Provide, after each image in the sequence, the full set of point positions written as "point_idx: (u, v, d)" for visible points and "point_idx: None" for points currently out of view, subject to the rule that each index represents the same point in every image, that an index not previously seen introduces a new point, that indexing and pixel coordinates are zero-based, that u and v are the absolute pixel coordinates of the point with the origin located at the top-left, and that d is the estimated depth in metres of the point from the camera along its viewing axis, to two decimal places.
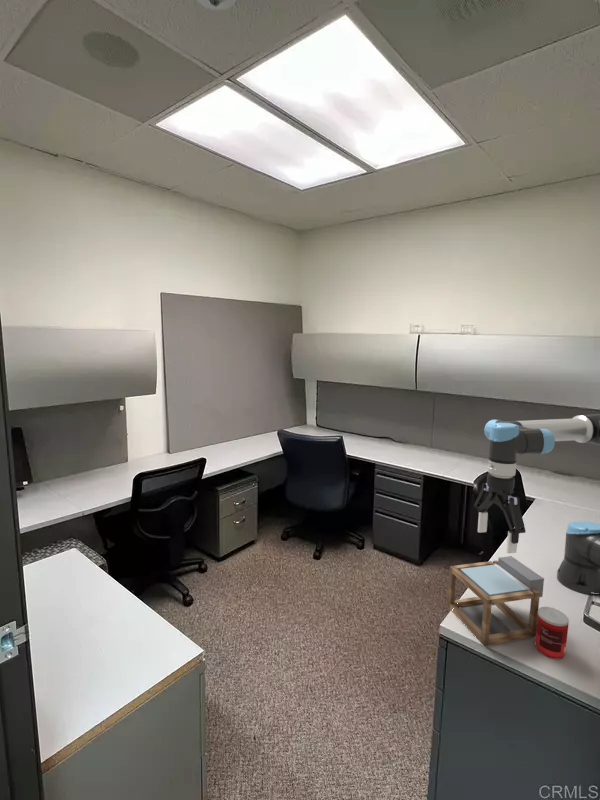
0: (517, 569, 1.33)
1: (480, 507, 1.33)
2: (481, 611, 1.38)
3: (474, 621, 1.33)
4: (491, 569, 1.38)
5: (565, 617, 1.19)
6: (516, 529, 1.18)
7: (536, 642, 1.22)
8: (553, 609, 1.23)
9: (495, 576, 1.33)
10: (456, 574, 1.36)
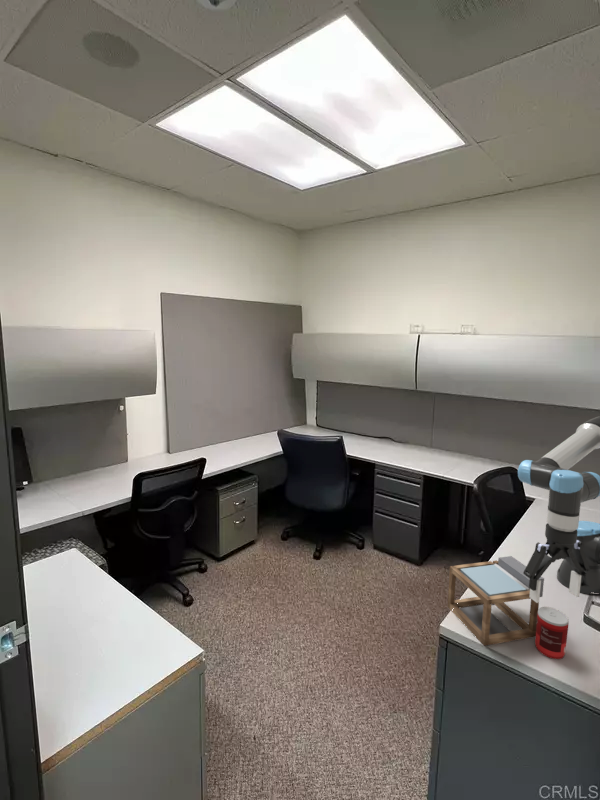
0: (517, 569, 1.33)
1: None
2: (481, 611, 1.38)
3: (474, 621, 1.33)
4: (491, 569, 1.38)
5: (565, 617, 1.19)
6: None
7: (536, 642, 1.22)
8: (553, 609, 1.23)
9: (495, 576, 1.33)
10: (456, 574, 1.36)
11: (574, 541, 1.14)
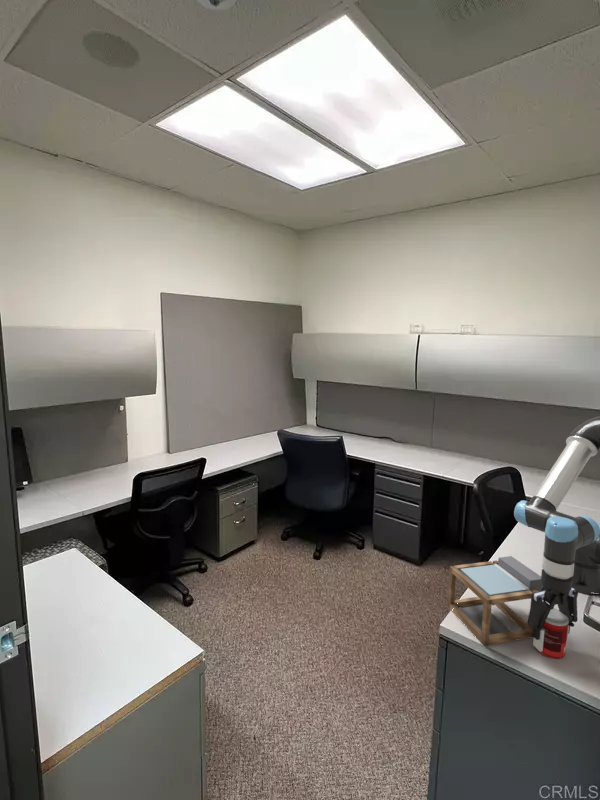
0: (517, 569, 1.33)
1: None
2: (481, 611, 1.38)
3: (474, 621, 1.33)
4: (491, 569, 1.38)
5: (565, 617, 1.19)
6: None
7: None
8: (553, 609, 1.23)
9: (495, 576, 1.33)
10: (456, 574, 1.36)
11: (569, 588, 1.16)
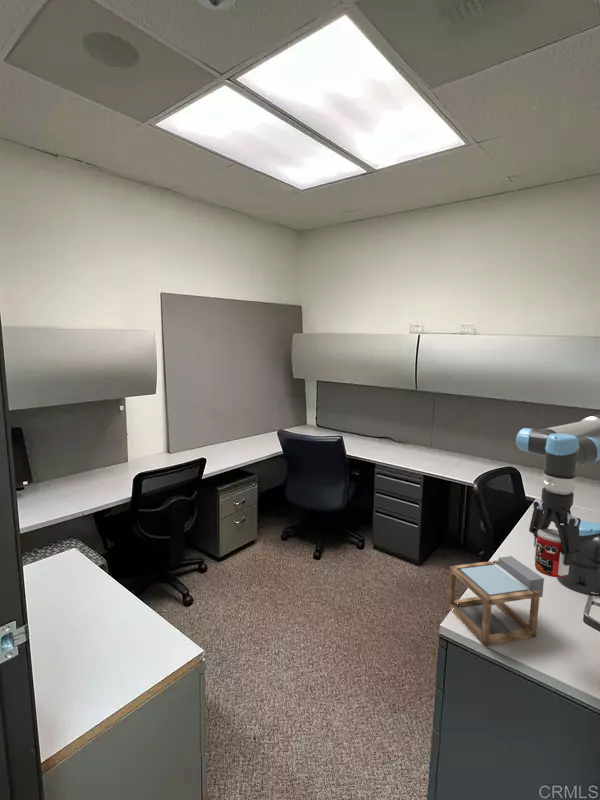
0: (517, 569, 1.33)
1: (537, 531, 1.22)
2: (481, 611, 1.38)
3: (474, 621, 1.33)
4: (491, 569, 1.38)
5: (550, 529, 1.21)
6: (571, 551, 1.11)
7: (557, 571, 1.16)
8: (540, 531, 1.20)
9: (495, 576, 1.33)
10: (456, 574, 1.36)
11: None
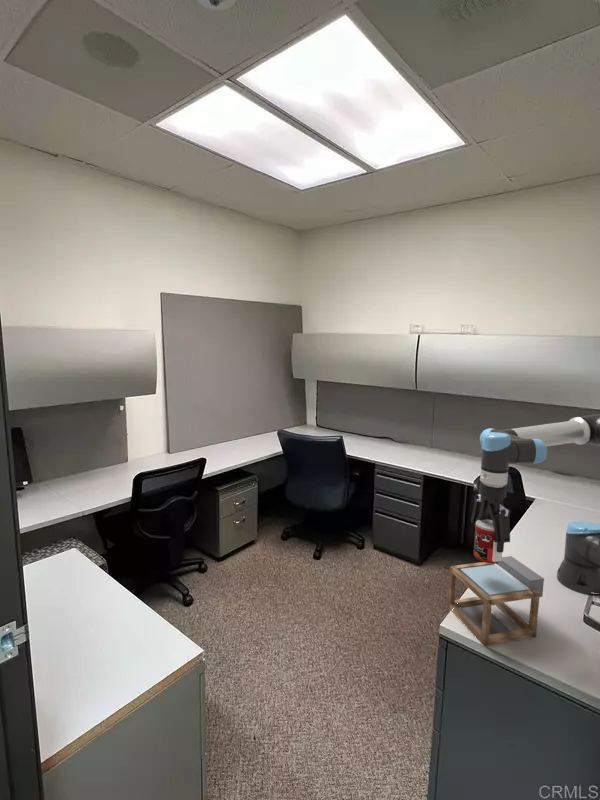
0: (517, 569, 1.33)
1: None
2: (481, 611, 1.38)
3: (474, 621, 1.33)
4: (491, 569, 1.38)
5: (488, 520, 1.32)
6: (501, 539, 1.22)
7: (491, 557, 1.27)
8: (478, 522, 1.31)
9: (495, 576, 1.33)
10: (456, 574, 1.36)
11: None
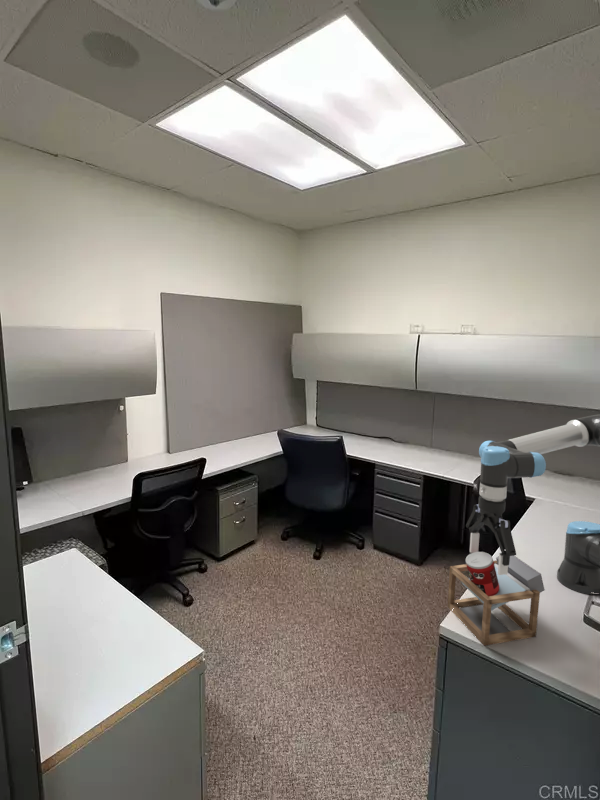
0: (514, 568, 1.33)
1: (472, 528, 1.36)
2: (481, 611, 1.38)
3: (474, 621, 1.33)
4: None
5: (476, 553, 1.33)
6: (507, 552, 1.20)
7: (489, 591, 1.28)
8: (467, 559, 1.31)
9: None
10: (456, 574, 1.36)
11: None
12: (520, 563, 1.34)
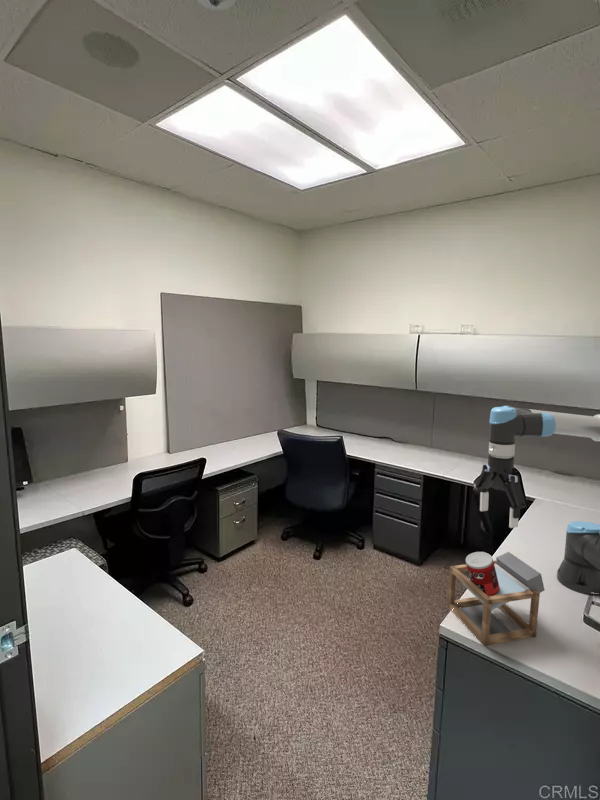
0: (514, 568, 1.33)
1: (481, 487, 1.42)
2: (481, 611, 1.38)
3: (474, 621, 1.33)
4: None
5: (476, 553, 1.33)
6: (518, 505, 1.27)
7: (489, 591, 1.28)
8: (467, 559, 1.31)
9: None
10: (456, 574, 1.36)
11: None
12: (520, 563, 1.34)
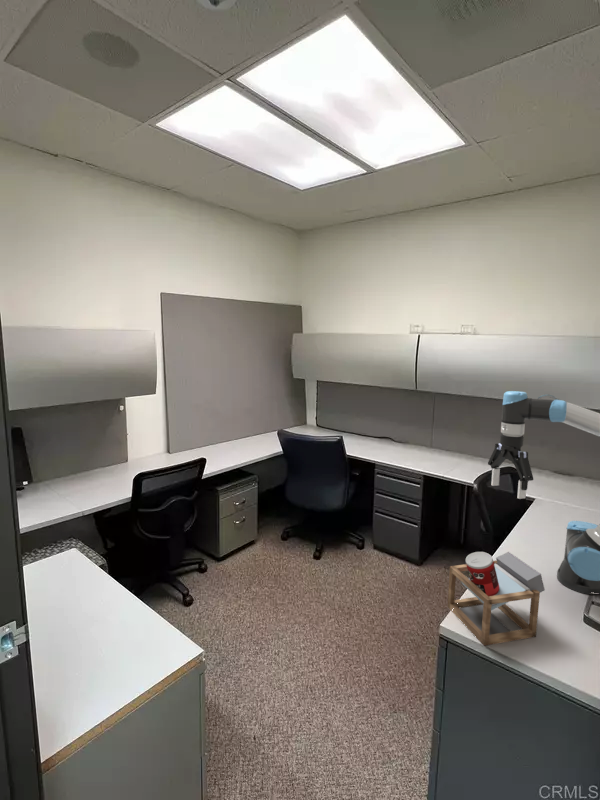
0: (514, 568, 1.33)
1: (493, 464, 1.58)
2: (481, 611, 1.38)
3: (474, 621, 1.33)
4: None
5: (476, 553, 1.33)
6: (526, 477, 1.42)
7: (489, 591, 1.28)
8: (467, 559, 1.31)
9: None
10: (456, 574, 1.36)
11: None
12: (520, 563, 1.34)
